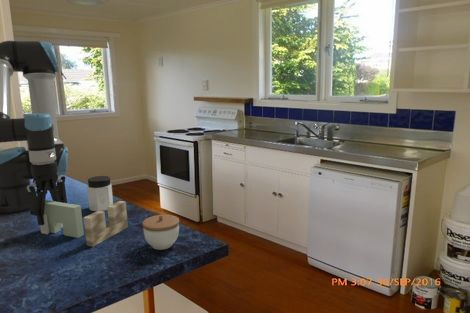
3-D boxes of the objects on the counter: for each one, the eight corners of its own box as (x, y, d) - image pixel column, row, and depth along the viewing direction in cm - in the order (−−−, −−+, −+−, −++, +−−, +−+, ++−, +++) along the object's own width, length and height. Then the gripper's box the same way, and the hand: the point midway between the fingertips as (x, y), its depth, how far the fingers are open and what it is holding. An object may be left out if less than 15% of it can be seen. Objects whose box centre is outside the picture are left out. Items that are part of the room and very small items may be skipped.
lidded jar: (163, 256, 102) (161, 225, 100) (136, 248, 108) (134, 218, 106) (187, 242, 111) (186, 213, 109) (161, 234, 117) (159, 207, 115)
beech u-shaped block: (93, 246, 109) (90, 218, 107) (86, 245, 110) (83, 217, 108) (127, 226, 123) (125, 201, 121) (121, 225, 124) (119, 200, 122)
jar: (92, 213, 136) (89, 182, 134) (87, 207, 143) (84, 178, 141) (116, 208, 141) (113, 178, 139) (110, 203, 148) (108, 174, 145)
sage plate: (41, 230, 121) (37, 202, 119) (47, 227, 124) (44, 199, 122) (77, 237, 115) (74, 208, 113) (83, 234, 118) (80, 205, 116)
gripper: (26, 169, 107) (36, 242, 112) (74, 157, 123) (81, 221, 128) (8, 167, 110) (19, 239, 115) (58, 155, 126) (65, 219, 131)
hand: (52, 229), depth 121 cm, fingers open, 5 cm apart
